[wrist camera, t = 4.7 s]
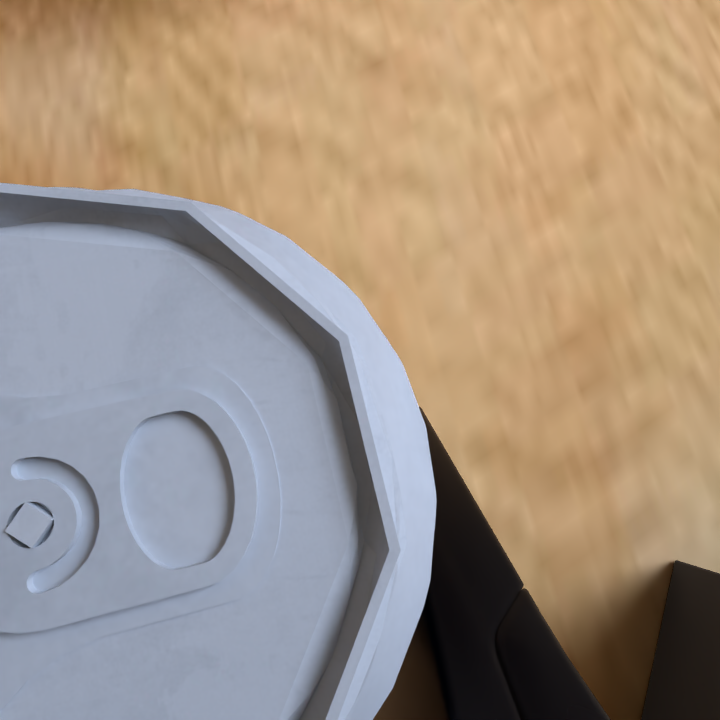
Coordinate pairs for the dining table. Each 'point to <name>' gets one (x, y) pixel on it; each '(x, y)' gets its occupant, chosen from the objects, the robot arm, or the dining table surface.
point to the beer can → (197, 470)
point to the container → (687, 649)
